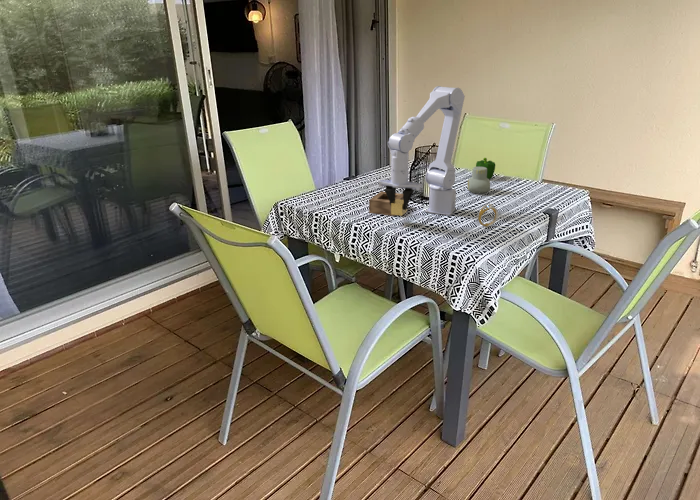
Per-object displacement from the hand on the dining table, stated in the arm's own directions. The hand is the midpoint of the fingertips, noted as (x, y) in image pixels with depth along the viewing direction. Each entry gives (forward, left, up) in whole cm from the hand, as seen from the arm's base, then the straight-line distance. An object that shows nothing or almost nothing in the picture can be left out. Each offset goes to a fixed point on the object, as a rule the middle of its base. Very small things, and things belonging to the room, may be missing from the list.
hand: (399, 208), depth 177 cm
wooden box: (+9, -12, -5) cm, 16 cm away
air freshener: (-17, -48, -6) cm, 51 cm away
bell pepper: (-15, -69, -6) cm, 71 cm away
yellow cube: (0, 0, -2) cm, 2 cm away
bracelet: (-29, -8, -6) cm, 31 cm away
